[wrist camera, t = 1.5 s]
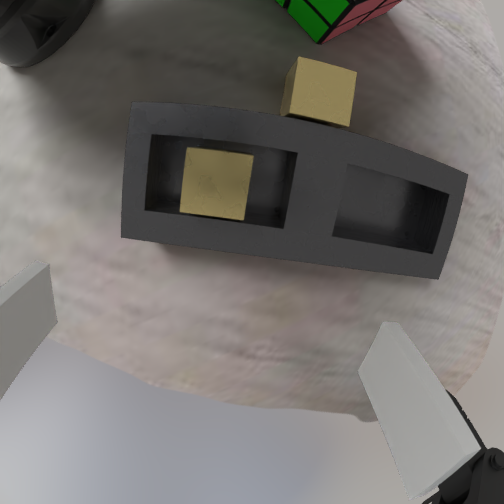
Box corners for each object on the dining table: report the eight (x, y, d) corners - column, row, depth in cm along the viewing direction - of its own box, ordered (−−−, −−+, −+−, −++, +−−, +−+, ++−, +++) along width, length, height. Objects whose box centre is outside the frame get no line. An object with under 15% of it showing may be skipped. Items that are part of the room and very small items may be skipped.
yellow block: (286, 74, 23) (298, 56, 17) (333, 85, 23) (356, 72, 17) (278, 119, 24) (289, 112, 19) (326, 129, 25) (349, 126, 19)
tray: (150, 108, 23) (131, 101, 18) (439, 167, 26) (468, 174, 21) (139, 221, 27) (121, 237, 22) (415, 260, 30) (438, 279, 25)
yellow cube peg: (199, 146, 24) (186, 147, 18) (250, 153, 24) (253, 155, 19) (193, 196, 25) (179, 211, 20) (243, 203, 26) (243, 220, 20)
